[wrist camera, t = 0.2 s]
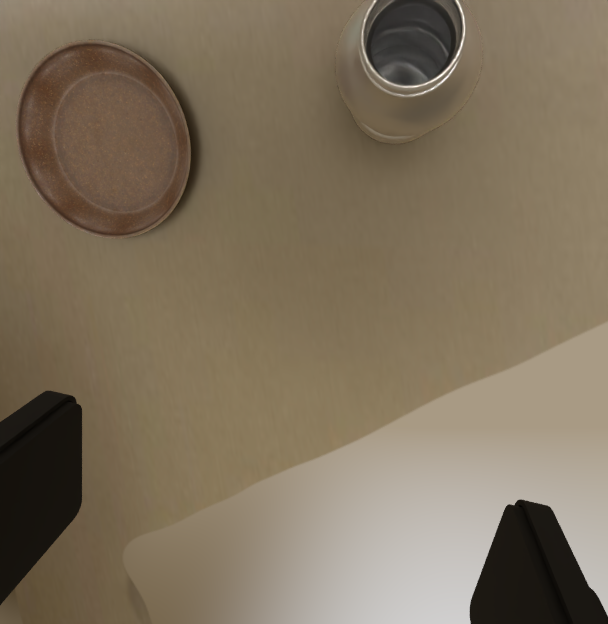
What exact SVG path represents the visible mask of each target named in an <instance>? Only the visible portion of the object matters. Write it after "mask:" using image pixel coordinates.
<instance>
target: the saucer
mask: <svg viewBox="0 0 608 624" xmlns="http://www.w3.org/2000/svg"><path fill="white" fill-rule="evenodd" d="M16 137H17V144H18V149H19V154H20V158H21V161H22V164H23V167H24V169H25V172H26V174H27V176H28V178H29V180H30V182H31V184H32V186H33V187H34V189H35V190H36V192H37V193H38V195H39V196H40V197H41V199H42V200H43V201H44V202H45V203H46V205H47V206H48V207H49V208H50V209H51V210H52V211H53V212H54V213H55V214H56V215H58V216H59V217H60V218H61V219H63V220H64V221H65V222H67V223H68V224H70V225H71V226H73V227H75V228H77V229H79V230H81V231H84V232H86V233H89V234H92V235H95V236H99V237H104V238H115V239H118V238H128V237H133V236H137V235H140V234H143V233H145V232H147V231H149V230H151V229H153V228H154V227H156V226H157V225H159V224H160V223H161V222H162V221H164V220H165V219H166V218H167V217H168V216H169V215H170V213H171V212H172V211H173V210H174V208H175V207H176V205H177V204H178V202H179V200H180V198H181V196H182V194H183V192H184V189H185V187H186V184H187V180H188V176H189V170H190V162H191V145H190V137H189V131H188V126H187V123H186V119H185V116H184V113H183V111H182V108H181V106H180V104H179V101H178V100H177V98H176V96H175V94H174V92H173V91H172V89H171V87H170V86H169V84H168V83H167V82H166V80H165V79H164V78H163V77H162V75H161V74H160V73H159V72H158V71H157V70H156V69H155V68H154V67H153V66H152V65H151V64H150V63H148V62H147V61H146V60H145V59H143V58H142V57H140V56H139V55H137V54H136V53H134V52H132V51H130V50H128V49H126V48H124V47H122V46H120V45H117V44H114V43H110V42H106V41H100V40H81V41H75V42H71V43H68V44H65V45H63V46H60V47H58V48H56V49H55V50H53V51H52V52H50V53H49V54H47V55H46V56H45V57H44V58H43V59H41V60H40V61H39V62H38V63H37V65H36V66H35V67H34V69H33V70H32V71H31V73H30V74H29V76H28V78H27V80H26V82H25V84H24V86H23V88H22V91H21V94H20V98H19V101H18V106H17V114H16Z"/></svg>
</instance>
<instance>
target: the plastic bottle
mask: <svg viewBox="0 0 608 624" xmlns="http://www.w3.org/2000/svg"><path fill="white" fill-rule="evenodd" d="M482 59H483V46H482V37H481V33H480V30H479V27H478V24H477V21H476V19H475V18H474V16H473V14H472V13H471V11H470V9H469V8H468V7H467V6H466V4H465V3H464V2H463V1H462V0H366V1H364V2H363V3H362V4H361V5H360V6H359V7H358V9H357V10H356V11H355V12H354V13H353V14H352V15H351V17H350V19H349V20H348V22H347V24H346V25H345V27H344V29H343V31H342V34H341V37H340V39H339V42H338V46H337V52H336V57H335V74H336V79H337V85H338V88H339V91H340V94H341V96H342V99H343V101H344V102H345V104H346V105H347V107H348V108H349V110H350V112H351V113H352V115H353V118H354V120H355V122H356V123H357V125H358V126H359V128H360V129H361V130H362V131H363V132H364V133H365V134H367V135H368V136H370V137H371V138H373V139H375V140H377V141H380V142H383V143H388V144H402V143H406V142H410V141H413V140H415V139H417V138H419V137H421V136H422V135H424V134H425V133H427V132H429V131H431V130H433V129H436V128H438V127H440V126H441V125H443V124H444V123H446V122H447V121H449V120H450V119H451V118H453V117H454V116H455V115H456V114H457V113H458V112H459V111H460V110H461V109H462V108H463V106H464V105H465V103H466V102H467V101H468V99H469V98H470V97H471V95H472V93H473V91H474V89H475V87H476V85H477V83H478V79H479V75H480V72H481V68H482Z"/></svg>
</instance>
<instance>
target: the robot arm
mask: <svg viewBox="0 0 608 624" xmlns="http://www.w3.org/2000/svg"><path fill="white" fill-rule="evenodd" d="M81 503H82V408H81V406H80V405H79V404H77V403H76V399H75V397H73V396H71V395H66V394H62V393H58V392H53V391H45V392H43V393H42V394H40V395H39V396H37V397H36V398H34V399H33V400H32V401H30V402H29V403H27V404H26V405H24V406H23V407H21V408H20V409H19V410H17V411H16V412H14V413H13V414H11V415H10V416H9V417H7V418H6V419H4V420H3V421H1V422H0V605H1V604H2V602H3V601H4V600H5V599H6V598H7V597H8V595H9V594H10V593H11V592H12V591H13V590H14V588H15V587H16V586H17V585H18V584H19V583H20V581H21V580H22V579H23V578H24V577H25V575H26V574H27V573H28V572H29V571H30V570H31V568H32V567H33V566H34V565H35V564H36V563H37V561H38V560H39V559H40V558H41V557H42V556H43V554H44V553H45V552H46V551H47V550H48V549H49V547H50V546H51V545H52V544H53V543H54V542H55V540H56V539H57V538H58V537H59V536H60V535H61V533H62V532H63V531H64V530H65V529H66V527H67V526H68V525H69V524H70V523H71V522H72V520H73V519H74V518H75V517H76V515H77V513H78V512H79V509H80V507H81ZM470 621H471V624H608V616H607V614H606V612H605V610H604V608H603V606H602V604H601V602H600V600H599V598H598V596H597V595H596V593H595V592H594V591H593V590H592V589H591V588H590V587H589V586H588V584H587V582H586V580H585V577H584V575H583V573H582V571H581V569H580V567H579V565H578V563H577V561H576V559H575V557H574V555H573V552H572V550H571V548H570V546H569V544H568V542H567V540H566V538H565V536H564V533H563V531H562V529H561V527H560V525H559V523H558V521H557V519H556V517H555V514H554V512H553V511H552V509H551V508H550V507H549V506H546V505H542V504H538V503H534V502H529V501H525V500H518V501H517V502H516V503H515V505H507V506H506V508H505V510H504V512H503V516H502V518H501V521H500V523H499V526H498V529H497V531H496V534H495V537H494V539H493V542H492V545H491V548H490V550H489V553H488V556H487V558H486V561H485V564H484V567H483V569H482V572H481V575H480V578H479V580H478V583H477V586H476V588H475V591H474V594H473V596H472V600H471V604H470Z"/></svg>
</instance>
